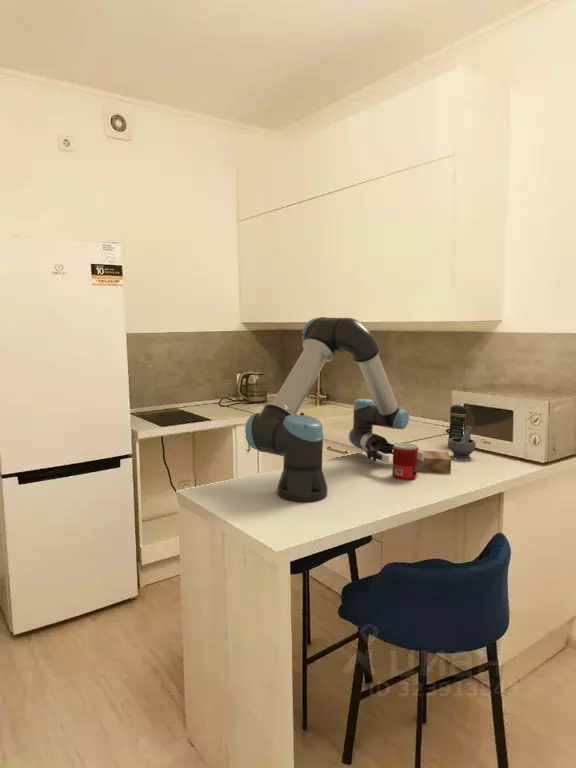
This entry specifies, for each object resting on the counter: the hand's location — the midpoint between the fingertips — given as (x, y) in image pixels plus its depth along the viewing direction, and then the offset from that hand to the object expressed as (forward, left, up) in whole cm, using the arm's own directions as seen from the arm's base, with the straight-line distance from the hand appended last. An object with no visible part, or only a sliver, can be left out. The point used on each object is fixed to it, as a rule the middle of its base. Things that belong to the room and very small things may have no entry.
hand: (405, 458), depth 182 cm
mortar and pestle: (+23, +31, -7) cm, 39 cm away
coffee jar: (+24, +48, -7) cm, 54 cm away
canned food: (0, -1, -7) cm, 7 cm away
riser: (+10, +13, -6) cm, 18 cm away
